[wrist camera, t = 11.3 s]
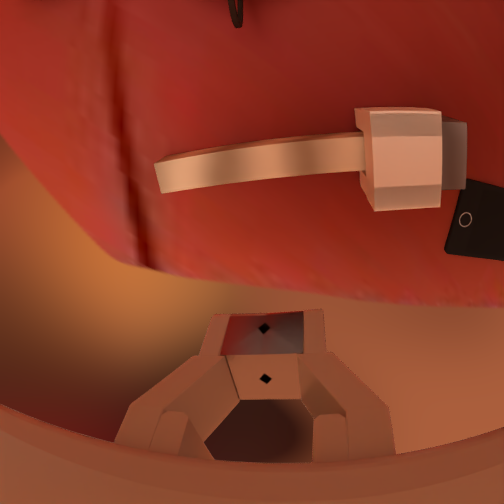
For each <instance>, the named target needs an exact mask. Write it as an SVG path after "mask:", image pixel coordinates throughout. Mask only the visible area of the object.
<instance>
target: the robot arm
mask: <svg viewBox="0 0 504 504" xmlns="http://www.w3.org/2000/svg"><path fill="white" fill-rule="evenodd" d="M239 399H240V400H244V399H245V400H246V399H301V401H302V402H303V404H304V405H305V406H306V408H307V409H308V411H309V412H310V414H311V415H312V417H313V418H314V428H313V455H312V463H251V462H234V461H221V460H214V458H213V457H212V455H211V454H210V452H209V451H208V449H207V447H206V446H205V444H204V441H205V439H206V438H208V436H209V435H210V434H211V433H212V432H213V431H214V430H215V429H216V427H217V426H218V425H219V424H220V423H221V422H222V421H223V420H224V419H225V417H226V416H227V415H228V414H229V413H230V412H231V411H232V409H233V408H234V407H235V406H236V405H237V403H238V402H239ZM0 504H504V427H502V428H499V429H497V430H493V431H490V432H488V433H484V434H481V435H478V436H475V437H471V438H467V439H464V440H460V441H457V442H453V443H449V444H445V445H440V446H436V447H432V448H428V449H423V450H418V451H412V452H407V453H401V454H396V451H395V444H394V437H393V431H392V424H391V419H390V412H389V407H388V406H387V405H386V404H385V403H384V402H383V401H382V400H381V399H380V398H379V397H378V396H377V395H376V394H375V393H374V392H372V391H371V390H370V389H369V388H368V387H367V386H366V385H365V384H364V383H363V382H362V381H361V380H360V379H359V378H358V377H357V376H356V375H355V374H354V373H353V372H352V371H351V370H350V369H349V368H348V367H347V366H346V365H345V364H344V363H343V362H342V361H340V359H339V358H338V357H337V356H336V355H335V354H334V353H333V352H326V340H325V327H324V314H323V310H322V309H312V310H304V311H294V312H280V313H248V314H215V315H214V316H213V317H212V318H211V321H210V324H209V327H208V330H207V332H206V336H205V338H204V341H203V344H202V347H201V350H200V353H199V356H192V358H190V359H189V360H187V361H186V362H185V363H184V364H182V365H181V366H180V367H178V368H177V369H176V370H175V371H173V372H172V373H171V374H169V375H168V376H167V377H166V378H164V379H163V380H162V381H160V382H159V383H158V384H156V385H155V386H154V387H153V388H151V389H150V390H149V391H147V392H146V393H145V394H143V395H142V396H141V397H139V398H138V399H137V400H136V401H134V402H133V403H131V404H130V406H129V409H128V411H127V413H126V415H125V418H124V420H123V422H122V425H121V427H120V429H119V432H118V434H117V436H116V438H115V441H114V443H112V442H108V441H104V440H100V439H96V438H93V437H89V436H86V435H82V434H79V433H76V432H72V431H69V430H66V429H63V428H60V427H57V426H54V425H51V424H49V423H46V422H43V421H40V420H38V419H35V418H32V417H30V416H27V415H25V414H22V413H20V412H17V411H15V410H13V409H10V408H8V407H6V406H3V405H1V404H0Z"/></svg>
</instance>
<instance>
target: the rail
mask: <svg viewBox="0 0 504 504" xmlns="http://www.w3.org/2000/svg"><path fill="white" fill-rule="evenodd" d="M441 118H442V186H441V190H456V189H465V187H466V168H467V123H466V122H463V121H459V120H456V119H453V118H449V117H446V116H441ZM154 166H155V170H156V175H157V179H158V182H159V186H160V190H161V194H162V193H168V192H174V191H180V190H187V189H193V188H200V187H207V186H214V185H221V184H229V183H237V182H245V181H253V180H261V179H270V178H280V177H289V176H299V175H310V174H321V173H334V172H347V171H362V170H366V162H365V146H364V133H363V131H362V132H344V133H330V134H317V135H306V136H296V137H286V138H277V139H269V140H261V141H253V142H246V143H239V144H232V145H226V146H220V147H213V148H207V149H202V150H196V151H191V152H185V153H180V154H175V155H170V156H165V157H164V158H162V159H160V160H159V161H157V162H156V163H154Z"/></svg>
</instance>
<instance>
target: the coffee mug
mask: <svg viewBox="0 0 504 504" xmlns="http://www.w3.org/2000/svg"><path fill="white" fill-rule="evenodd" d="M228 4H229V10H230V14H231V19H232V22H233V24H234V26H235V28H241V27H242V23H243V0H238V14H237V11H236V6H235V0H228Z"/></svg>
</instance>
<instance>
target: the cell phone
mask: <svg viewBox="0 0 504 504" xmlns="http://www.w3.org/2000/svg"><path fill="white" fill-rule="evenodd" d="M444 250H445V252H446V253H447V254H453V255H461V256H469V257H477V258H485V259H493V260H501V261H504V188H502V187H498V186H494V185H491V184H487V183H483V182H479V181H475V180H471V179H466V187H465V189H460V193H459V197H458V201H457V205H456V209H455V213H454V216H453V220H452V223H451V227H450V230H449V234H448V237H447V240H446V243H445V247H444Z"/></svg>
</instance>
